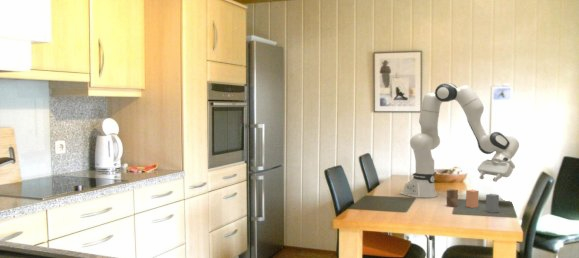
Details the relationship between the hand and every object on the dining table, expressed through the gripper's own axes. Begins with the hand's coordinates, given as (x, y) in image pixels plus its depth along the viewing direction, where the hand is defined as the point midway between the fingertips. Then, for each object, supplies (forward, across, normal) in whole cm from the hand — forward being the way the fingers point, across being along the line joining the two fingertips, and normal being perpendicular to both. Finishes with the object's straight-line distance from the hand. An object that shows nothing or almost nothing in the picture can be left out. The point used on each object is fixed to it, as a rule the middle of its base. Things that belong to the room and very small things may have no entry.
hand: (487, 179), depth 285 cm
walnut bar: (+24, -7, -4) cm, 25 cm away
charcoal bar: (+18, +14, +2) cm, 23 cm away
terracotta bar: (+18, 0, +2) cm, 18 cm away
